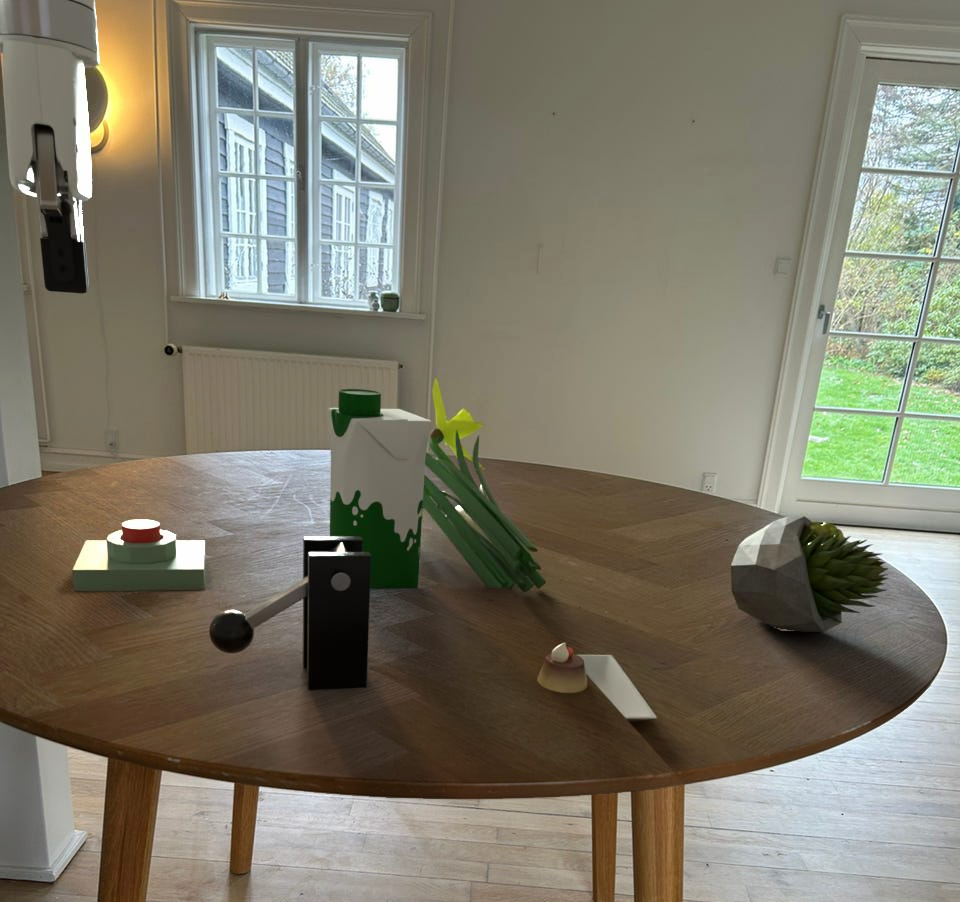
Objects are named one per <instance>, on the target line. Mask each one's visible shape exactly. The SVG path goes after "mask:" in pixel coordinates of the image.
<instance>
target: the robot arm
mask: <svg viewBox="0 0 960 902" xmlns="http://www.w3.org/2000/svg"><path fill="white" fill-rule="evenodd" d="M96 13H97V12H96V0H0V53H1V54H2V87H3V89H2V90H3V102H4V103H3V104H4V106H3V107H4V121H5V132H6V133H5V134H6V146H7V149H6V150H7V162H8V163H7V164H8V176H9V181H10V185H11V186H12V187H13V188H14V189H15V190H16V191H18V192H19V193H21V194H24V195H27V196H30V197H35V199H36V204H37V212H38V221H39V231H40V236H41V237H39V241H40V251H41V252H40V253H41V262H42V269H43V270H42V273H43V283H44V288H45V289H46V291H48V292H57V293H67V294H68V293H69V294H87V293H88V292H89V291H90V281H89V270H88V268H89V267H88V257H87V246H86V245H87V243H86V241H84V226H83V214H82V213H83V212H82V211H83V210H82V207H83V205H82V202H84V203H85V202H87V201H89V200H90V198H92V193H93V184H92V181H93V179H92V178H93V177H92V157H91V156H92V155H91V140H90V138H91V137H90V126H89V125H90V124H89V111H88V100H87V99H88V98H87V88H86V75H85V68H86V69H87V68H95V67H98V66H99V65H100V56H99V55H100V54H99V53H100V52H99V40H98V39H99V38H98V28H97V27H98V26H97V25H98V24H97V14H96Z"/></svg>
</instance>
